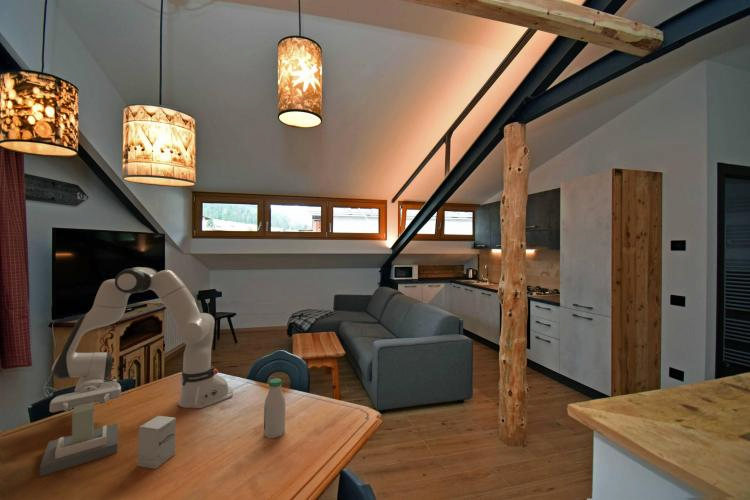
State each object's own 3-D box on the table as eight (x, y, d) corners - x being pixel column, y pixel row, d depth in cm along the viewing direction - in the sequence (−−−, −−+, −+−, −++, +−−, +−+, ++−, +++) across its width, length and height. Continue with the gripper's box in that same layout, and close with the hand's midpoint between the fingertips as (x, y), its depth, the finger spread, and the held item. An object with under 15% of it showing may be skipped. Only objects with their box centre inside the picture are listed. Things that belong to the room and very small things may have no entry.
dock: (117, 431, 117) (117, 416, 117) (117, 452, 104) (117, 436, 105) (48, 450, 105) (49, 434, 105) (39, 476, 93) (40, 458, 93)
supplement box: (156, 469, 97) (157, 429, 97) (136, 466, 98) (137, 426, 98) (175, 454, 104) (176, 417, 104) (157, 451, 105) (158, 414, 105)
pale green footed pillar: (93, 436, 108) (94, 402, 109) (92, 444, 104) (93, 409, 104) (73, 441, 105) (74, 406, 105) (71, 450, 101) (72, 413, 101)
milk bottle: (289, 430, 119) (290, 378, 119) (274, 441, 112) (275, 386, 112) (273, 425, 122) (274, 374, 123) (259, 435, 115) (260, 382, 116)
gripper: (52, 391, 118) (45, 405, 107) (121, 378, 131) (121, 389, 121) (51, 407, 118) (45, 423, 107) (120, 392, 131) (121, 405, 121)
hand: (86, 405), depth 114 cm, fingers open, 8 cm apart
